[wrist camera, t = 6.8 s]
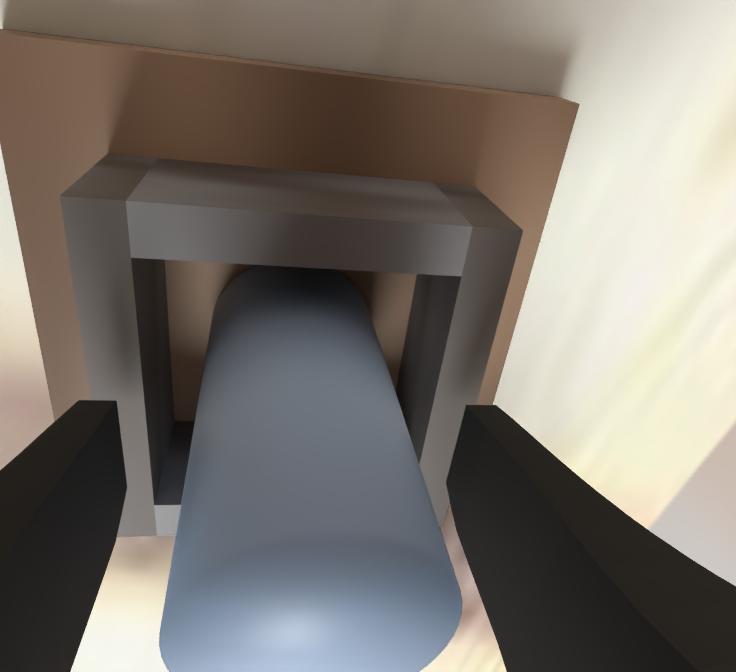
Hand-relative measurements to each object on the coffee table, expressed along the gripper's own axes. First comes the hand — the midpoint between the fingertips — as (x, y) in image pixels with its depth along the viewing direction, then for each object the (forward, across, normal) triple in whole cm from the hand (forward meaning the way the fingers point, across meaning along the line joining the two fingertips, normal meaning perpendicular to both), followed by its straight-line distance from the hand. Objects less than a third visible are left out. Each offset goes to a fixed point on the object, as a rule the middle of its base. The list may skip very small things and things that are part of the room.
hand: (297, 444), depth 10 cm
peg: (+4, 0, 0) cm, 4 cm away
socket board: (+5, 0, 0) cm, 5 cm away
